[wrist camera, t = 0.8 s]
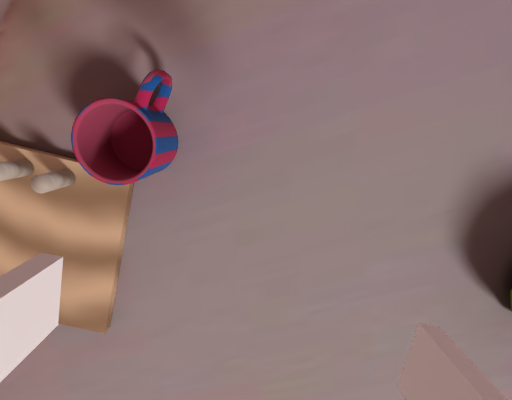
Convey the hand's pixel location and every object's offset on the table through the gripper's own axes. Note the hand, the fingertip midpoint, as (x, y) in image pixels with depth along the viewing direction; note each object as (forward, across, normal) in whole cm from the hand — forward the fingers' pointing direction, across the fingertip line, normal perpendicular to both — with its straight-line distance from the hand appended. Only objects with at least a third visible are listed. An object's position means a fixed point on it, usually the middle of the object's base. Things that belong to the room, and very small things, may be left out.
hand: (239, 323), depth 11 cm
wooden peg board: (+21, -20, -8) cm, 30 cm away
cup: (+22, -11, +5) cm, 25 cm away
